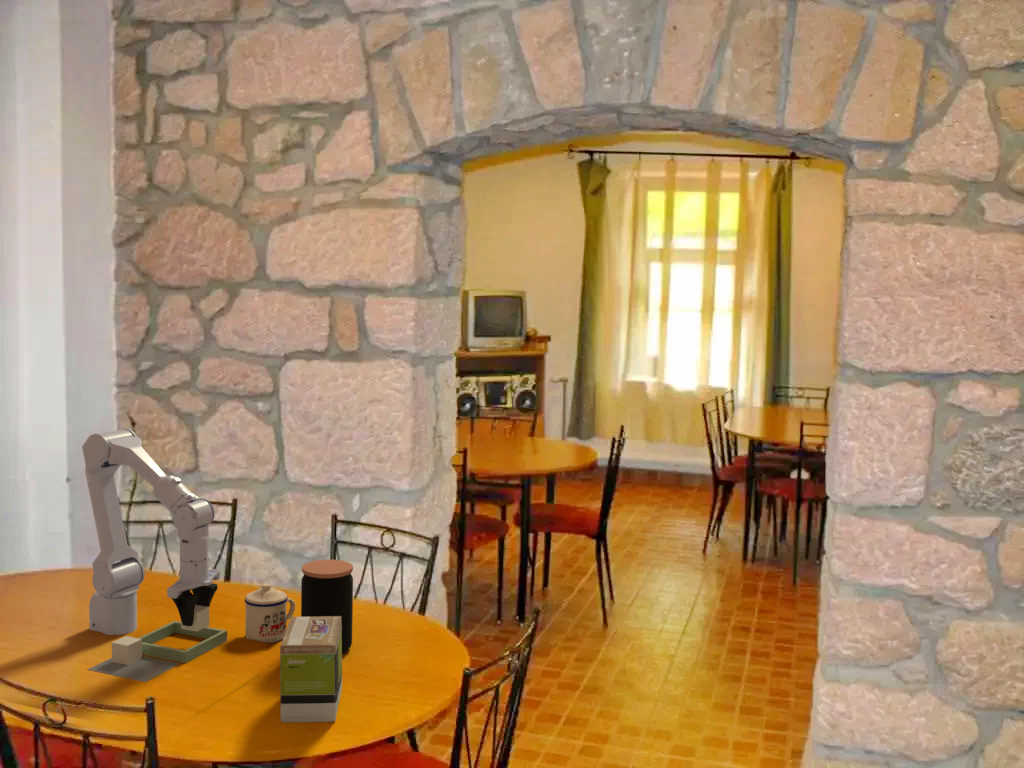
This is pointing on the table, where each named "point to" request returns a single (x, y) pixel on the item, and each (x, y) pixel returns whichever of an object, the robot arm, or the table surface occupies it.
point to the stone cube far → (199, 619)
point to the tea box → (311, 669)
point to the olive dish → (148, 648)
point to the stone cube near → (127, 650)
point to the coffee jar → (329, 593)
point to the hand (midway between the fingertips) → (194, 621)
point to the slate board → (135, 668)
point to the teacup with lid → (267, 614)
